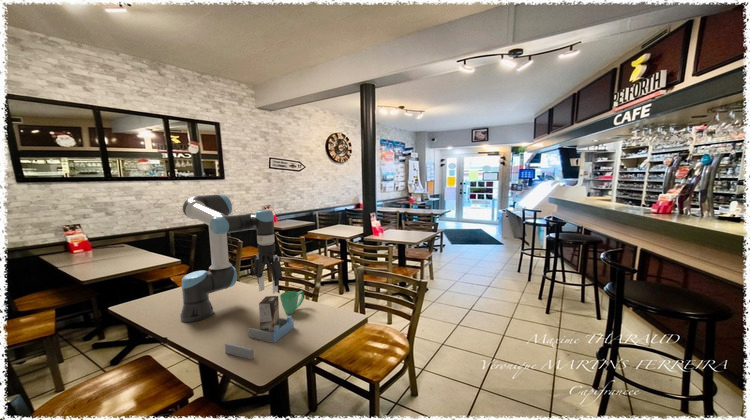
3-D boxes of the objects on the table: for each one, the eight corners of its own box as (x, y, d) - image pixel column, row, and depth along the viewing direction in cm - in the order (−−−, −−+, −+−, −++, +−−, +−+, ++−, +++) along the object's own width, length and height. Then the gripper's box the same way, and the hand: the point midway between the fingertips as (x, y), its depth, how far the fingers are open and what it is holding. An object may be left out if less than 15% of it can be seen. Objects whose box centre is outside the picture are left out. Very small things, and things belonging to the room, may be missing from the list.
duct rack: (225, 352, 120) (224, 338, 119) (269, 323, 145) (269, 310, 144) (253, 359, 115) (252, 344, 114) (293, 327, 140) (293, 314, 139)
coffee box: (274, 336, 132) (272, 303, 130) (260, 337, 132) (258, 303, 130) (280, 326, 141) (278, 295, 139) (267, 327, 141) (265, 295, 139)
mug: (288, 318, 150) (287, 299, 149) (277, 313, 156) (276, 295, 155) (309, 308, 162) (309, 290, 161) (298, 303, 168) (298, 287, 167)
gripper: (242, 243, 132) (245, 291, 134) (278, 246, 125) (281, 297, 127) (254, 240, 139) (257, 286, 141) (289, 243, 132) (291, 291, 134)
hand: (268, 291), depth 134 cm, fingers open, 7 cm apart
